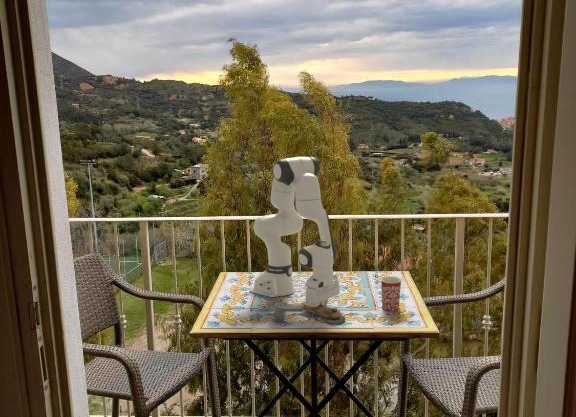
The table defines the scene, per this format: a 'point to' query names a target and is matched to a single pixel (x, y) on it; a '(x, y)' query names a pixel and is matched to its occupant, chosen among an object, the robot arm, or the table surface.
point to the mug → (390, 293)
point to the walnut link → (323, 311)
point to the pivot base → (338, 321)
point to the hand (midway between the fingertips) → (323, 309)
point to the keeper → (285, 310)
